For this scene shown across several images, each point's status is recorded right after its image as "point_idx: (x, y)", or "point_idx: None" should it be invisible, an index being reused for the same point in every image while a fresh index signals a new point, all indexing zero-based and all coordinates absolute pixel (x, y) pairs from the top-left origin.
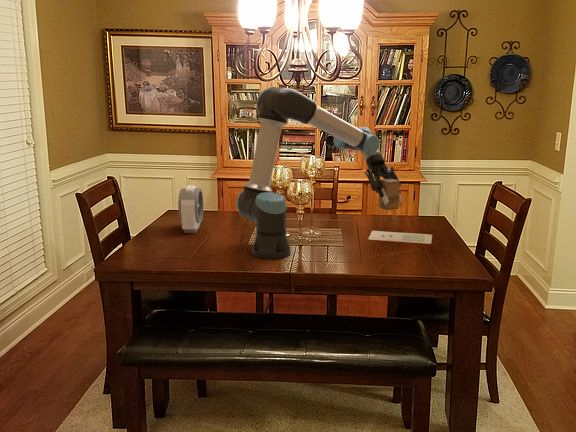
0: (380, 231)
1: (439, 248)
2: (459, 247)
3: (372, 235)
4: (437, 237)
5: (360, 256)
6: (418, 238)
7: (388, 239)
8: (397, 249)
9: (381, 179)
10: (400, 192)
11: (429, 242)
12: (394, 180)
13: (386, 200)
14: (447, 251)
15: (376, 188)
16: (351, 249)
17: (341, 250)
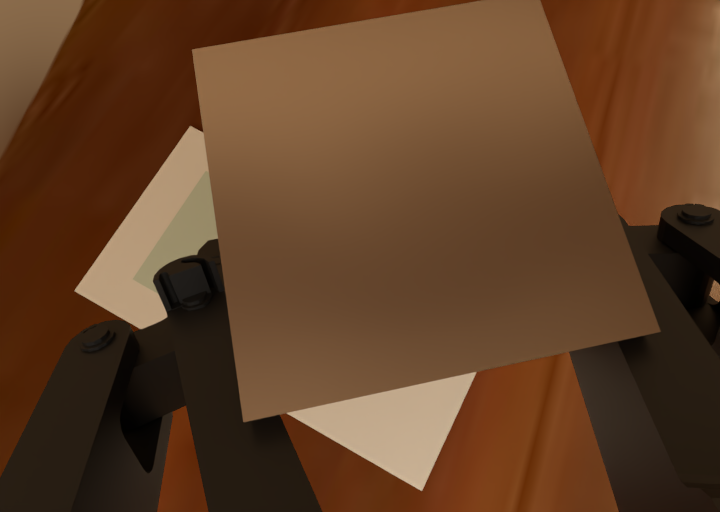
0: (369, 455)
1: (183, 73)
2: (74, 65)
3: None
4: (66, 257)
5: (621, 52)
6: (205, 230)
7: None
8: None
9: (601, 337)
10: (198, 252)
11: (185, 148)
12: (296, 123)
13: None
14: (173, 25)
15: (655, 226)
16: (644, 161)
17: (701, 157)
